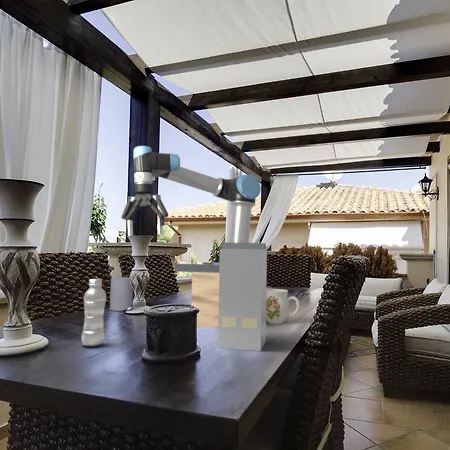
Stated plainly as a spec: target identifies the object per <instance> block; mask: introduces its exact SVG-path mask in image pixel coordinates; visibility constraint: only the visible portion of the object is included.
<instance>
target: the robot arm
mask: <svg viewBox="0 0 450 450" xmlns="http://www.w3.org/2000/svg"><path fill="white" fill-rule="evenodd" d="M132 158H133V179H134V180H133V181H134V196H128V197H127V202H126V205H125V206H124V209H123V211H122V214H121V219H122V220H125V227H126V229H127V236H128V237H134V234H133V233H134V227H133V224H134V223H133V220H132V219H133V217H134V215H135V214H136V213H137V211H138V210H139V208H140V207H141V208H142V207H150V208H151V210H152V211H154V213H155V214H156V215H157V216H158V218H157V235H163V233H164V232H163V231H164V230H163V229H164V228H163V227H164V226H165V218H167V217H169V213H168V211H167V209H166V206H165V205H164V203H163V202H162V197H161V194H155V195H154V185H153V183H154V181H153V179H154V178H162V179H164V180H169V181H170V182H171V181H172V182H175V183H178V184H182V185H185V186H188V187H190V188H195V189H197V190H201V191H203V192H205V193H206V192H207V193H210V194H212V195H213V197H216V198H219V199H222V200H225V201H228V202H230V204H231V205H232V207H233V208H232V216H231V217H232V219H231V229H230V239H229V240H230V241H229V243H250V242H249V241H250V229H251V220H252V219H251V218H252V217H251V215H252V208H254V206H255V205H256V200H257V199H256V198H257V197H259V196H260V193H261V190H262V189H261V188H262V186H261V183H260V182H259V180H258V179H257V177H255V175H252V174H242V175H239V176H236V177H233V178H222V177H218V178H215V177H213V176H211V175H207V174H203V173H200V172H198V171H195V170H192V169H189V168H186V167H182V166H181V158H180V155H178V154H177V153H175V154H174V153H164V152H163V153H162V152H153V150H152V147H150V146H146V145H138V146H135V147H134V149H133V157H132ZM154 200H155V201H156V204H157V205H155V203H154V202H153V201H154ZM133 203H134V204H133ZM157 206H158V207H157ZM211 265H220V261H217V262H214V263H212V264H211Z"/></svg>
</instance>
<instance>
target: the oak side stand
mask: <svg viewBox="0 0 450 450" xmlns="http://www.w3.org/2000/svg"><path fill="white" fill-rule="evenodd" d="M192 306H194V307H196V308H198V309H199V310H200V312H199V313H198V315H197V325H198V326H197V327H210V328H211V327H212V328H218V322H219V273H208V272H191V307H192Z"/></svg>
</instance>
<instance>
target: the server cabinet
mask: <svg viewBox="0 0 450 450" xmlns="http://www.w3.org/2000/svg"><path fill="white" fill-rule="evenodd" d="M267 255H268V249H267V243H264V242H249V243H230V242H221V248H219V262H220V267H219V322H218V327H217V329H218V330H217V331H218V333H217V335H218V336H217V337H218V338H217V340H218V341H217V348H218V349H226V350H227V349H228V350H239V351H241V350H242V351H251V350H252V351H254V352H256V351H257V352H262V349H263V347H264V346H265V343H266V341H267V321H266V288H267V280H268V279H267V273H268V272H267V266H268V264H267V261H268V257H267ZM252 351H251V352H252Z"/></svg>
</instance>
